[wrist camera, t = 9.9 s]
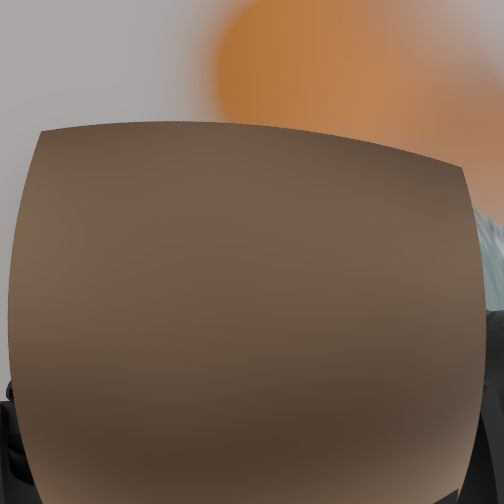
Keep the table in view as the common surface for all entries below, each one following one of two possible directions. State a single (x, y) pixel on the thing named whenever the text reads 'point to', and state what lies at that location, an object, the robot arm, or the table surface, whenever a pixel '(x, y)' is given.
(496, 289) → the table surface
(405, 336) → the stool
